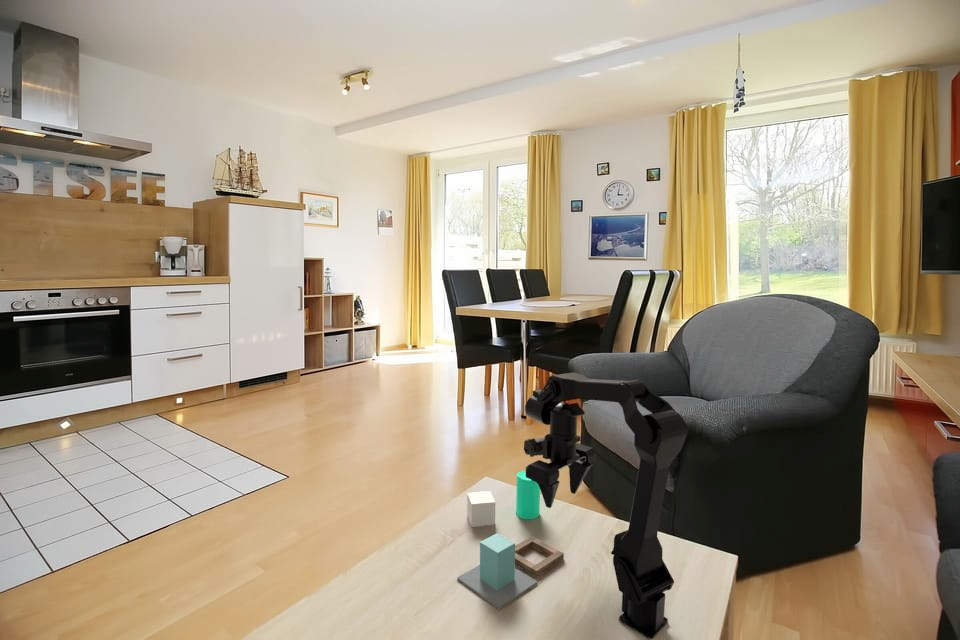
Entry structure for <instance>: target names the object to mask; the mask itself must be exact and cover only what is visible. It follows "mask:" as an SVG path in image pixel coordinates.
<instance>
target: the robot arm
mask: <svg viewBox="0 0 960 640" xmlns="http://www.w3.org/2000/svg"><path fill="white" fill-rule="evenodd" d="M547 377H548V378H547V381H546V383H545V385H544V387H543V388H542V389H535V390H532V395H531V396H530V397H529V398H527V401H526V404H525V405H524V410H525V411H524V412H525V414H526V415H527V417H528V418H531V419H533V420H535V421H536V422H540V423H542V424H544V425H547V426H549V433H548V434H545V436H544V437H538V438H528V439H527V438H526V439H525V440H524V443H523V451H524V453H525V454H526V455H527V456H528V455H529V457H530V458H533V457H535V456H542V459H545V460H549V461H550V462H549V463H548V462H546V461H543V460H540V459H538V460H536V461H534V462H531V463H529V464H528V465H526V466H525V471H526V475H525V476H526V478H529V479H531V480H532V481H535V482H536V483H537V484H538V485H539V488H540V494H541V496H542V499H543V502H544V504H545V507H546V508H547V509H548V508H549V509H551V508H552V506H553V503H554V500H555V498H556V494H557V492H558V488H559V485H560V480H559V478H560V471H561V470H562V469H564V468H566V467H568V471H569V473H568V474H569V489H570V493H572V494H573V495H574V494H576V493H577V492H578V490H579V487H581V485H582V482H583V481H584V479H585V477H586V476H587V474H588V473H589V471H590V469H591V467H592V466H593V464H594V462H596V461H597V451H596V450H595V448H594V447H592V446H588V445H585V444H581V443H579V442H580V441H581V439H582V438H581V435H578V432H577V431H578V416H583V415H585V413H586V412H585V411H584V409H583V408H582V407H581V405H580V404H579V403H578V402H575V403H568V402H567V401H573V400H574V401H575V400H590V401H599V402H600V401H601V402H607V403H608V402H609V403H610V402H611V403H612V402H613V403H618V404H619V405H620V406H621V408H622V412H623V417H624V421H625V424H626V425H627V426H628V428H629V429H630V431H632V433H633V434H634V435H633V436H634V441H633V442H634V443H633V445H634V448H635V450H636V453H637V454H638V456H639V465H638V470H637V478H636V483H635V490H634V494H633V501H632V506H631V513H630V519H629V525H628V529H626V530H624V531H621V532H619V533H617V534H615V535H614V538H613V549H612V550H611V552H610V554H611V555H613V556H612V562H613V563H612V565H613V567H614V572H615V578H616V582H617V586H618V591H619V592H620V593H622V597H621V612H622V614H621V615H619V616H618V621H619V622H620V623H622V624H623V625H626V626H627V627H629V628H630V629H633V630H634V631H635V632H637V633H639V634H641V635H643V636H644V637H645V638H647V639H650V640H651V639H653V638H654V637H655V636H656V635H657V634H658V633H659V632H660V631H661V630H662V629H663V628H664V627H665V626H666V625H667V624H668V622H669V619H668V617H665V608H666V607H665V603H666V594H665V593H664V592H666V591H670V590H672V588H673V586H674V584H675V581H674V579H673V576H672V575H671V573H670V571H669V569H668V567H667V565H666V563H665V562H664V561H665V560H663V547H662V544H661V542H660V540H659V537H658V532H659V527H660V520H661V515H662V509H663V505H664V499H665V495H666V494H665V493H666V489H667V484H668V479H669V471H670V468H671V464H672V463H673V462H674V460H675V459H676V458H677V456H678V455H679V454H680V452H681V451H682V449H683V446H684V444H685V441H686V438H687V436H688V433H689V431H688V430H689V429H688V423H687V422H686V421H685V419H684V418H683V416H682V415H681V414H680V413H679V412H677V411H676V410H675V409H674V407H673V406H672V405H671V404H670V403H669V402H668V401H667V400H666V399H664V398H663V397H661V396H659V395H658V394H656V393H655V392H653V391H652V390H651V389H650V388H649V387H648V385H646V383H644V382H643V381H641V380H639V379H634V380H618V379H615V380H614V379H597V378H595V379H592V378H589V377H586V375H584V374H581V373H578V372H568V373H561V374H553V375H549V376H547ZM637 403H638V404H639V406H641V407H643V408H644V409H646V411H648V412H650V413H649V414H642V412H640V410H639V409H638V404H637Z"/></svg>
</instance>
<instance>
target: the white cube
mask: <svg viewBox="0 0 960 640" xmlns="http://www.w3.org/2000/svg"><path fill="white" fill-rule="evenodd" d="M466 494H467V496H466V497H467V498H466V499H467V500H466V502H467V504H466V507H467V509H466V515H467V518H468V521H469V524H470V527H472V528H474V527H485V526H484V525H487V526H495V525H496V500H495V498H494V496H493V494H492V492H491V491H490V490H489V491H476V492H475V491H473V492H466ZM494 524H495V525H494Z"/></svg>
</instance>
